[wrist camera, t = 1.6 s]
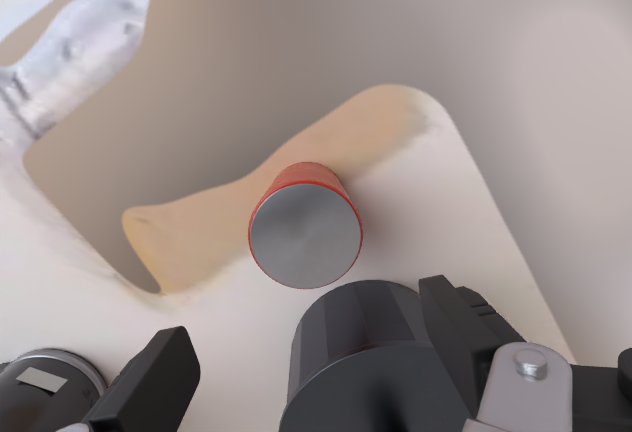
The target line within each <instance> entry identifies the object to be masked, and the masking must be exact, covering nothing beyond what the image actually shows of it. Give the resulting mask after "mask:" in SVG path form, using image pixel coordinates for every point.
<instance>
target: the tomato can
mask: <svg viewBox="0 0 632 432" xmlns="http://www.w3.org/2000/svg"><path fill="white" fill-rule="evenodd" d="M362 239H363V231H362V224H361V220H360V217H359V215H358V212H357V210H356V208H355V207H354V205H353V203H352V201H351V200H350V198H349V196H348V195H347V193H346V191H345V189H344V188H343V186H342V184H341V183H340V181H339V179H338V178H337V176H336V175H335V174H334V173H333V172H332V171H331V170H329V169H328V168H326V167H325V166H323V165H320V164H317V163H312V162H302V163H297V164H294V165H291V166H289V167H288V168H286V169H284V170H283V171H282V172H281V173H280V174H279V175H278V176H277V178H276V179H275V181H274V182H273V183H272V185H271V186H270V188H269V189H268V190H267V192H266V193H265V195H264V196H263V197H262V199H261V200H260V202H259V203H258V205H257V206H256V208H255V209H254V211H253V213H252V216H251V219H250V222H249V228H248V241H249V246H250V250H251V253H252V255H253V257H254V259H255V261H256V263H257V264H258V266H259V267H260V268H261V269H262V270H263V271H264V273H265V274H267V275H268V276H269V277H270V278H272V279H273V280H275V281H276V282H278V283H280V284H283V285H285V286H288V287H292V288H297V289H313V288H319V287H323V286H326V285H328V284H331V283H333V282H334V281H336V280H338V279H339V278H341V277H342V276H343V275H344V274H345V273H346V272H347V271H348V270H349V269H350V268H351V267H352V266H353V264H354V262H355V261H356V259H357V257H358V255H359V252H360V249H361V246H362Z"/></svg>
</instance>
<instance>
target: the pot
mask: <svg viewBox="0 0 632 432" xmlns="http://www.w3.org/2000/svg"><path fill="white" fill-rule="evenodd" d="M387 341H417V342H425V343H430V344H432V343H431V341H430V339H429V336H428V333H427V330H426V327H425V323H424V317H423V310H422V303H421V297H420V295H419V294H418V293H416V292H414V291H413V290H411V289H409V288H407V287H405V286H402V285H400V284H396V283H392V282H388V281H381V280H365V281H357V282H353V283H348V284H345V285H343V286H340V287H337V288H335V289H333V290H331V291H329V292H328V293H326V294H325V295H323V296H322V297H320V298H319V299H318V300H317V301H316V302H314V303H313V304H312V305H311V307H310V308H309V309H308V310H307V311H306V313H305V314H304V316H303V317H302V318H301V320H300V322H299V324H298V327H297V329H296V332H295V336H294V339H293V342H292V348H291V360H290V372H289V384H288V395H287V403H288V401H289V399H290V397H291V396H292V394H293V393H294V392H295V390H296V389H297V387H298V386H299V385H300V384H301V383H302V382H303V381H304V380H305V379H306V378H307V377H308V375H310V374H311V373H312V372H313V371H315V370H316V369H317V368H318V367H320V366H321V365H323V364H324V363H326V362H327V361H329V360H331V359H332V358H334V357H336V356H338V355H340V354H342V353H345V352H347V351H349V350H352V349H355V348H358V347H361V346H364V345H369V344H374V343H378V342H387Z"/></svg>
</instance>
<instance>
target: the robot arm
mask: <svg viewBox="0 0 632 432" xmlns="http://www.w3.org/2000/svg"><path fill="white" fill-rule="evenodd" d="M419 290H420V297H421V303H422V310H423V317H424V323H425V327H426V330H427V333H428V336H429V339H430V341H431V343H432V344H433V346H434V348H435V350H436V352H437V354H438V355H439V357H440V359H441V361H442V363H443V365H444V366H445V368H446V370H447V372H448V374H449V376H450V378H451V379H452V381H453V383H454V385H455V387H456V389H457V390H458V392H459V394H460V396H461V398H462V400H463V401H464V403H465V405H466V407H467V409H468V411H469V412H470V414H471V416H472V418H471V417H469V418H468V419H467V420H466V422H465V424H464V427H463V430H462V432H632V348H629V349H626V350H624V351H623V352H621V354H620V355H619V357H618V368H609V367H593V366H592V367H591V366H579V365H572V364H569V363H568V362H567V360H566V359H565V358H564V357H563V356H561V355H560V354H559V353H557V352H555V351H554V350H552V349H550V348H547V347H545V346H542V345H538V344H534V343H528V342H526V341H525V340H524V339H523V338H522V337H521V336H520V335H519V334H518V333H517V332H516V331H515V330H514V329H513V328H512V327H511V326H510V325H509V324H508V323H507V322H506V321H505V319H504V318H503V317H502V316H501V315H500V314H499V313H496V310H495V309H494V308H493V307H492V306H491V305H488V302H487V301H486V300H485V299H484V298H483V297H482V296H481V295H480V294H479V293H477V292H475V291H473V290H470V289H468V288H466V287H464V286H463V287H458V288H454V287H453V286H452V285H451V283H450V282H449V281H448V280H447V279H446V278H445V277H444V276H443V275H437V276H432V277H427V278H422V279H419ZM199 381H200V364H199V361H198V359H197V356H196V353H195V351H194V348H193V345H192V343H191V340H190V337H189V335H188V332H187V330H186V329H185V327H183V326H179V327H174V328H169V329H164V330H160V331H158V332H157V333H156V334H155V336H154V337H153V338H152V339H151V341H150V342H149V343H148V345H147V346H146V347H145V348H144V349H143V350H142V351H141V352H140V353H138V354H137V355H136V356H135V357H134V358H132V359H131V360H130V361H129V362H128V364H127V365H126V366H125V367H124V368H123V370H122V371H121V372H120V375H119V376H117V377H116V378H115V380H114V381H113V382H112V383H111V386H110V387H108V388H107V387H106V384H105V382H104V380H103V378H102V377H101V375H100V374H99V373H98V372H97V370H96V369H95V368H94V367H93V366H91V365H90V364H89V363H88V362H86V361H85V360H83V359H81V358H80V357H78V356H75V355H73V354H71V353H68V352H64V351H60V350H53V349H42V350H35V351H31V352H28V353H26V354H23V355H22V356H20V357H18V358H17V359H16V360H14V361H13V362H12V363H3V364H1V365H0V432H177V430H178V428H179V425H180V423H181V421H182V419H183V417H184V415H185V412H186V410H187V408H188V406H189V404H190V401H191V399H192V397H193V395H194V393H195V391H196V388H197V386H198V384H199Z"/></svg>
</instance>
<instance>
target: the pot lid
mask: <svg viewBox="0 0 632 432" xmlns="http://www.w3.org/2000/svg"><path fill="white" fill-rule="evenodd" d="M469 417H471V418H472V416H471V414H470V412H469V411H468V409H467V407H466V405H465V403H464V401H463V400H462V398H461V396H460V394H459V392H458V390H457V389H456V387H455V385H454V383H453V381H452V379H451V378H450V376H449V374H448V372H447V370H446V368H445V366H444V365H443V363H442V361H441V359H440V357H439V355H438V354H437V352H436V350H435V348H434V346H433V344H430V343H425V342H417V341H387V342H378V343H374V344H369V345H364V346H361V347H358V348H355V349H352V350H349V351H347V352H345V353H342V354H340V355H338V356H336V357H334V358H332V359H331V360H329V361H327V362H326V363H324V364H323V365H321V366H320V367H318V368H317V369H316V370H315V371H313V372H312V373H311V374H310V375H308V377H307V378H306V379H305V380H304V381H303V382H302V383H301V384H300V385H299V386H298V387H297V389H296V390H295V392H294V393H293V394H292V396H291V397H290V399H289V401H288V403H287V405H286V407H285V409H284V411H283V414H282V417H281V421H280V426H279V432H462V430H463V427H464V424H465V422H466V420H467V419H468V418H469Z"/></svg>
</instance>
